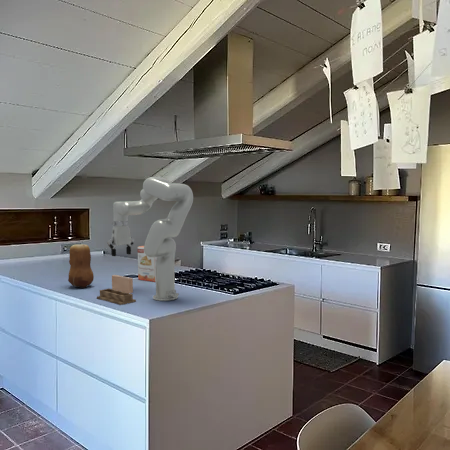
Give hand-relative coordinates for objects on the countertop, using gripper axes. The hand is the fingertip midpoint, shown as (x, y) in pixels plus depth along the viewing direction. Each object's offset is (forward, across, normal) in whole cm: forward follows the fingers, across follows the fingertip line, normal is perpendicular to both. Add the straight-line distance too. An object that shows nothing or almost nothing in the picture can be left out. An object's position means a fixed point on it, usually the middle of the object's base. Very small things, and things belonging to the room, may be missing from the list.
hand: (121, 255), depth 254 cm
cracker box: (+20, +29, +13) cm, 38 cm away
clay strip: (+20, 0, 0) cm, 20 cm away
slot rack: (+20, -15, -16) cm, 30 cm away
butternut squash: (+20, -10, +26) cm, 34 cm away
